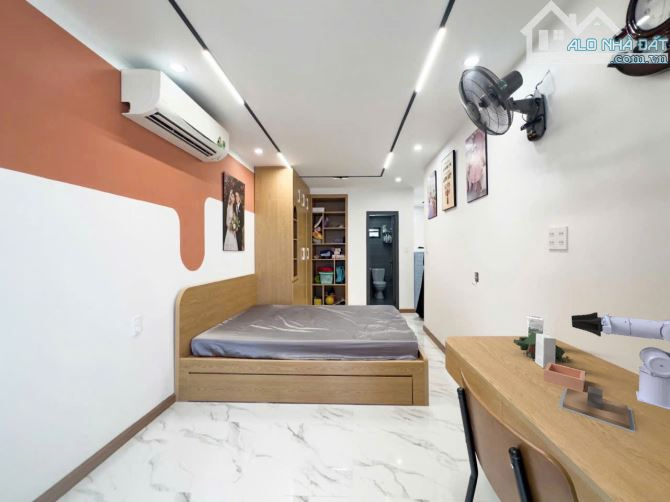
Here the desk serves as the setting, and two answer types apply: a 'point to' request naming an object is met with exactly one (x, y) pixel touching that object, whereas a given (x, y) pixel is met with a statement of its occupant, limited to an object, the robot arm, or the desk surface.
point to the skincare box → (545, 350)
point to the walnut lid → (597, 406)
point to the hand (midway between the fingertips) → (571, 321)
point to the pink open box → (564, 376)
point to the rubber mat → (630, 414)
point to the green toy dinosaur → (530, 347)
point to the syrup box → (534, 325)
